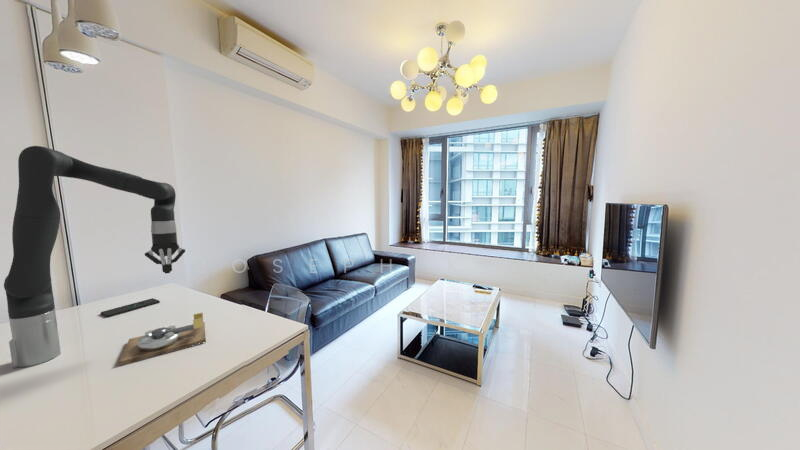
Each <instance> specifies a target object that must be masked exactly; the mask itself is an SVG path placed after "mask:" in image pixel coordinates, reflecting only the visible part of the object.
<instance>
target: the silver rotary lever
mask: <svg viewBox="0 0 800 450" xmlns="http://www.w3.org/2000/svg"><path fill="white" fill-rule="evenodd" d="M203 315H204V314H203V312H199V313H193V320H192V324H193V325H192V324H189V325H190V326H188V325H184V326H185V327H184V326H180V327H181V328H179V327H176V325H169V326H167V327H159V328H155V329H150V330H148V331H145V332H144V335H145V336H144V335H142V336H143V337H142V338H140V339H139V340H138V349H139V350H140V351H154V350H158V349H162V348H165V347H167V346H170V345H172V344H174V343H175V342H177V341H178V340H179V339H180V332H184V331H189V330H193V329H197V328H202V327H203V322H204V316H203Z"/></svg>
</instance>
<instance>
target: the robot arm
mask: <svg viewBox="0 0 800 450" xmlns="http://www.w3.org/2000/svg"><path fill="white" fill-rule="evenodd" d="M17 161H18V163H17V167H18V190H17V195H16V197H17V198H16V204H15V205H16V206H15V209H14V210H15V211H14V216H13V221H12V233H11V235H12V239H11V240H12V250H13V251H12V252H13V257H12V262H11V265H10V267H9V272H8V275H7V276H6V277H5V279H4V283H3V288H4V291H5V294H6V295H5V296H6V301H7V313H8V319H9V327H10V333H11V339H10V340H9V342H8V345H9V351H10V357H11V364H12V365H11V366H12V369H15V368H24V367H25V368H26V367H33V366H35V365H40V364H43V363H45V362H48V361H50V360H53V359H54V358H55V359H56V358H57V357H58V356H60V354H61V346H60V337H59V329H58V322H57V321H58V319H57V313H56V307H55V305H56V304H55V299H54V291H53V285H52V277H51V274H52V273H51V257H52V252H53V249H54V246H55V244H56V240H57V238H58V233H59V229H60V222H61V210H60V207H59V204H58V202H57V200H56V198H55V195H54V190H53V183H54V180H55V179H54V178H55V177H63V178H71V179H72V178H73V179H78V180H83V181H88V182H90V183H91V182H92V183H95V184H98V185H101V186H104V187H107V188H111V189H114V190H118V191H123V192H125V193H126V192H127V193H130V194H135V195H138V196H141V197H144V198H146V199H151V200H154V201H153V202H154V203H153V204H154V205H153V206H152V207H151V208H150V232H151V242H152V244H151V245H152V246H151V247H150V250H148V251H146V252H145V253H144V256H145V257H147V259H149V260H150V261H151V262H153V263H155V264H156V265H161V268H162V272H163V273H164V274H171V273H170V272H172V271H173V267H172V266H173V264H174V263H176V262H177V261H178V260H179V259H180V258H181V257H182V256H183V255H184V253H186V248H183V247H180V246H179V244H178V235H177V225H176V219H175V203H176V191H175V188H174V186H172V185H171V184H169V183H166V182H158V181H154V180H150V179H147V178H143V177H141V176H139V175H135V174H133V173H132V174H131V173H129V172H128V173H127V172H124V171H120V170H117V169H111V168H107V167H102V166H99V165H98V166H97V165H94V164H91V163H88V162H85V161H83V160H80V159H77V158H74V157H72V156H71V155H70V156H69V155H67V153H66V154H65V153H63V152H61V151H59V150H55V149H52V148H48V147H46V146H39V145H31V146H27V147H26V148H24V149H22V150H21V152H20V153H19V155H18V159H17ZM176 252H177V254H176ZM154 254H155V255H157V256H158V257H160V258H159V259H158V258H157V257H156V256H154ZM174 254H176V256H174ZM172 256H174V258H173V257H172ZM166 257H167V258H166Z"/></svg>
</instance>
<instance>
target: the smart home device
mask: <svg viewBox="0 0 800 450" xmlns="http://www.w3.org/2000/svg"><path fill="white" fill-rule="evenodd" d="M160 303H161V300H159V299H156V298H153V297H152V298H149V299H148V298H147V299H146V300H141V301H137V302H134V303H129V304H125V305H122V306H118V307H116V308H111V309H107V310H103V311H100V315H101V316H103V317H105V318H107V319H108V318H111V317H112V318H113V317H115V316H119V315H122V314H126V313H129V312H133V311H137V310H140V309H143V308H147V307H150V306H154V305H157V304H160Z"/></svg>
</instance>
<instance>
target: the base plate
mask: <svg viewBox="0 0 800 450" xmlns="http://www.w3.org/2000/svg"><path fill="white" fill-rule="evenodd" d="M190 325H193V323H192V324H189V325H187V326H190ZM205 325H206V324H205V321H203V327H202V328H197V329H193V330H189V331H184V332H180V339H179V340H178V341H177V342H175V343H174V344H172V345H170V346H167V347H165V348H162V349H158V350H154V351H140V350H139V349H138V340H139V339H140V338H142V337H143V336H145V334H144V335H141V336H137V337H132V338H129V339H128V340H127V344H125V345H126V346H125V347H124V349H123V352H122V354H121V356H120V358H119V361H118V366H119V365H121V366H124V365H127V363H128V364H130V363H131V362H132V363H134V362H138V360H139V361H142V359H143V360H146V359H145V358H147V359H150V358H154V357H156V356H157V355H158V356H161V355H164V353H165V354H168V352H169V353H172V351H173V352H176V351H179V350H178V349H180V350H183V349H182V348H184V349H186V348H185V347H187V348H190V347H189V346H191V347H193V346H192V345H195V346H197V345H196V344H198V345H200V344H199V343H202V344H204V343H203V342H207V339H206V327H205ZM185 326H186V325H184V326H183V327H185ZM181 327H182V326H180V327H178V328H181ZM175 350H176V351H175ZM153 356H154V357H153ZM149 357H150V358H149ZM132 363H131V364H132ZM123 364H124V365H123Z"/></svg>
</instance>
